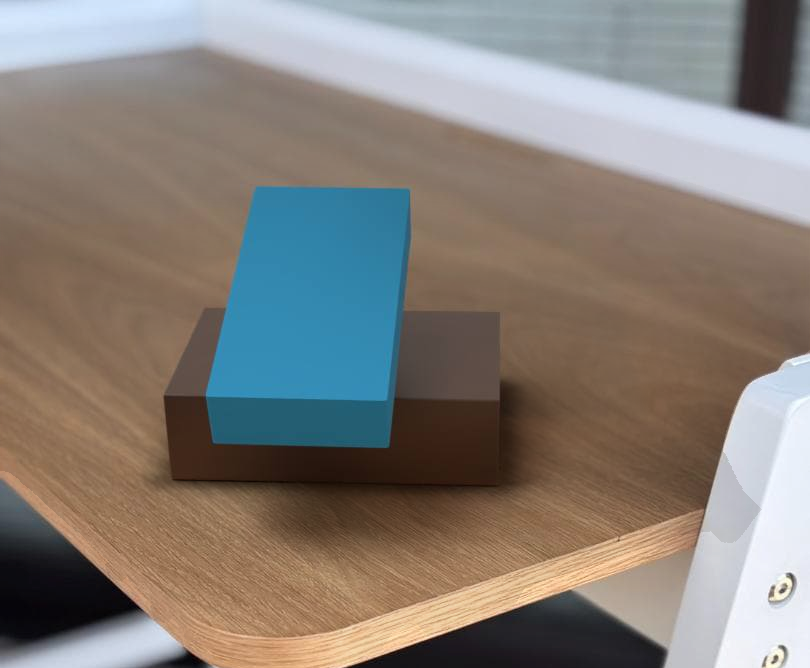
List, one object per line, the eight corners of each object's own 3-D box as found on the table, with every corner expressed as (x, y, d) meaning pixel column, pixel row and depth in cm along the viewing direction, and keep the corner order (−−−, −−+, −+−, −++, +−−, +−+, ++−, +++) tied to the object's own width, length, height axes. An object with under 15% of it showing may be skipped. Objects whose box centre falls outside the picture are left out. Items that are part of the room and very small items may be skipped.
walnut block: (170, 479, 64) (162, 394, 62) (210, 384, 73) (204, 307, 71) (497, 486, 64) (499, 400, 62) (497, 389, 72) (500, 311, 70)
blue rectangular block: (392, 531, 61) (417, 270, 74) (387, 400, 56) (415, 143, 69) (225, 526, 62) (278, 267, 74) (205, 396, 56) (265, 141, 69)
